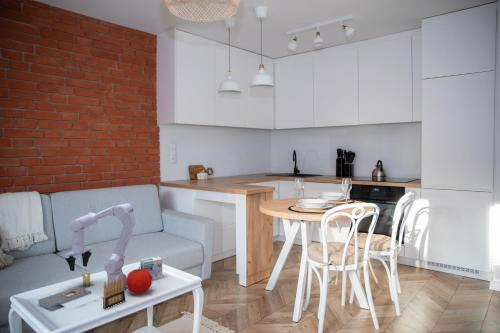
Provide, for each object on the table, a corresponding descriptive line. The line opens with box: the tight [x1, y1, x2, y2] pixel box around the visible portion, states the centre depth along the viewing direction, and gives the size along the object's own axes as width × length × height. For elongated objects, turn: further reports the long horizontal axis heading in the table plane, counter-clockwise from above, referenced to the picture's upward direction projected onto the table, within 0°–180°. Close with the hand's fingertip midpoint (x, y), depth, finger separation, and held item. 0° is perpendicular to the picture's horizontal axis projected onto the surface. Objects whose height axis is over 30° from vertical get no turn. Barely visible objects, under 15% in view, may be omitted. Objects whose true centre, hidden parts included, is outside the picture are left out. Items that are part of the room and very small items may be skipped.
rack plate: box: [37, 286, 92, 312], centre depth 174 cm, size 12×19×3 cm, turn 146°
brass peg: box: [82, 272, 91, 288], centre depth 189 cm, size 4×4×6 cm
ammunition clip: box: [102, 276, 126, 310], centre depth 168 cm, size 11×2×12 cm, turn 148°
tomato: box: [126, 266, 153, 295], centre depth 182 cm, size 12×13×12 cm
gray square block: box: [77, 282, 95, 290], centre depth 189 cm, size 6×6×2 cm
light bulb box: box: [139, 255, 163, 281], centre depth 202 cm, size 11×7×11 cm, turn 123°
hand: (78, 268), depth 188 cm, fingers open, 7 cm apart
